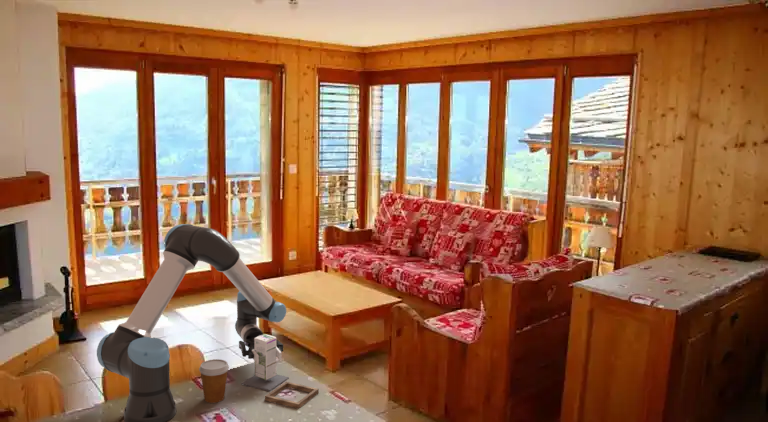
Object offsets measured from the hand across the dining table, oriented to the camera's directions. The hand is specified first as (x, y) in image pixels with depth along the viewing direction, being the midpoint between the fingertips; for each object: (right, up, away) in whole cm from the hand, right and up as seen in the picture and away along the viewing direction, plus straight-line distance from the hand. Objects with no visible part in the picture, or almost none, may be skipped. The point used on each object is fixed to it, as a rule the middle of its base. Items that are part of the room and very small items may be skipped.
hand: (269, 357), depth 205 cm
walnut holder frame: (+9, -12, -6) cm, 16 cm away
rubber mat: (-2, -10, +6) cm, 12 cm away
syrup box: (-2, -8, +6) cm, 10 cm away
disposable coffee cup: (-16, -12, -9) cm, 22 cm away
